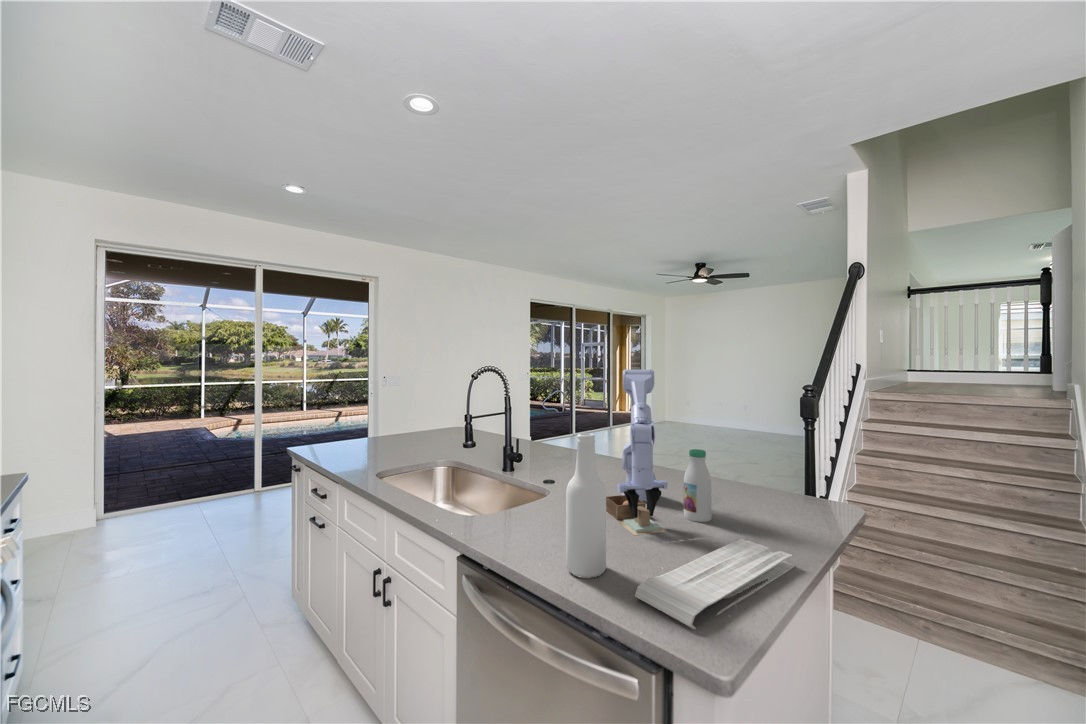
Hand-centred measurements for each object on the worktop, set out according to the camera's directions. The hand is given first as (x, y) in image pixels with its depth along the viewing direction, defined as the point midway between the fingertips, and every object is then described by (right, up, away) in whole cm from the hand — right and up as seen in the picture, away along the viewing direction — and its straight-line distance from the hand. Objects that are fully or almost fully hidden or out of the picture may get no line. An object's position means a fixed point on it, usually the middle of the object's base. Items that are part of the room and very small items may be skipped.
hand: (642, 515), depth 122 cm
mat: (0, -3, 0) cm, 3 cm away
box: (-3, -3, +11) cm, 11 cm away
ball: (-2, -3, +13) cm, 13 cm away
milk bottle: (+18, -3, +7) cm, 19 cm away
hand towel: (+10, -4, -30) cm, 32 cm away
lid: (0, -3, 0) cm, 3 cm away
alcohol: (-18, -3, -25) cm, 31 cm away
